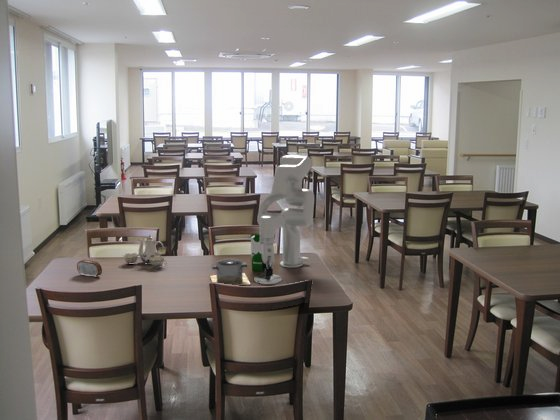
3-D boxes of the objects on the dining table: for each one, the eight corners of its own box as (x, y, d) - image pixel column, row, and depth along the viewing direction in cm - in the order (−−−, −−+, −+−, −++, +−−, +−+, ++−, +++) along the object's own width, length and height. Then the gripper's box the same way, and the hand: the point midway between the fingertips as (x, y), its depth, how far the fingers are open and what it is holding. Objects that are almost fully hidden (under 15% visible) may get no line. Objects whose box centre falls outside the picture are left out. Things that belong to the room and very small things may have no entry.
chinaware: (118, 268, 321) (114, 240, 317) (134, 257, 337) (131, 230, 332) (163, 272, 313) (160, 244, 308) (177, 261, 328) (175, 233, 323)
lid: (278, 275, 302) (278, 263, 301) (284, 283, 288) (284, 271, 287) (251, 277, 299) (251, 266, 297) (256, 286, 285) (256, 273, 284)
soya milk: (249, 270, 310) (248, 234, 306) (255, 265, 318) (255, 230, 314) (265, 271, 307) (264, 235, 303) (270, 267, 315) (270, 231, 312)
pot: (244, 274, 303) (244, 256, 301) (250, 285, 286) (250, 265, 284) (210, 277, 299) (209, 258, 297) (214, 288, 282) (213, 268, 280)
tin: (102, 277, 301) (101, 261, 300) (98, 278, 298) (97, 263, 297) (80, 273, 307) (79, 258, 306) (76, 275, 305) (75, 259, 303)
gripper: (278, 243, 282) (278, 277, 285) (271, 236, 298) (271, 268, 301) (263, 244, 280) (263, 278, 283) (256, 237, 297) (257, 269, 300)
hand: (267, 273), depth 292 cm, fingers open, 9 cm apart
